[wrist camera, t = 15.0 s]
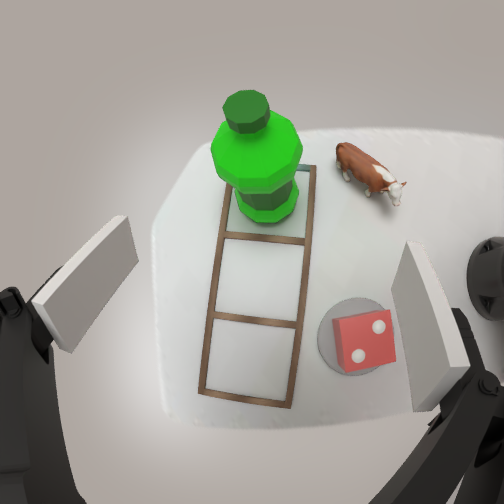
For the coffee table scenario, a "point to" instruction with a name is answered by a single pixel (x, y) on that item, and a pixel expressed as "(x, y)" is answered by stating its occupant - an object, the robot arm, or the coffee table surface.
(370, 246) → the coffee table surface
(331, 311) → the red die stand
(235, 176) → the plastic bottle
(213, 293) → the walnut frame
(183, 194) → the coffee table surface
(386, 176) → the bull figurine
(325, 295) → the coffee table surface
